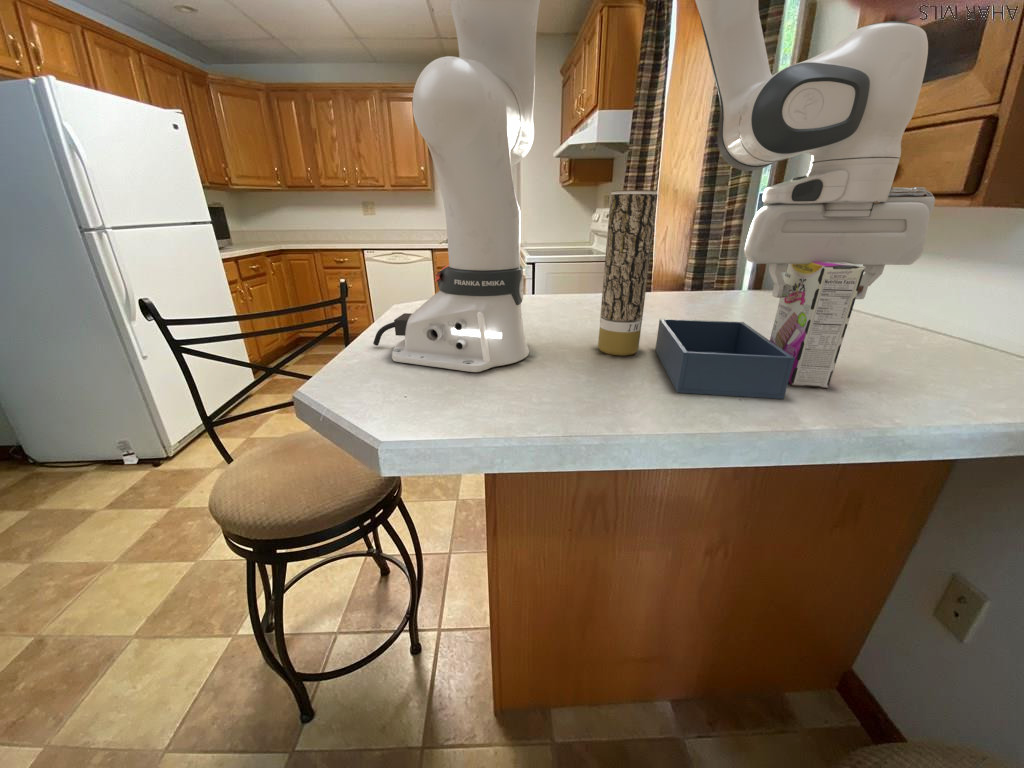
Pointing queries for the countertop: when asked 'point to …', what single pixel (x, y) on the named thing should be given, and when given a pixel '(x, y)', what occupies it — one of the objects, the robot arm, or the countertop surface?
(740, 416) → the countertop surface
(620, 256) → the paper tube
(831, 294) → the candy bar box
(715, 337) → the tote
